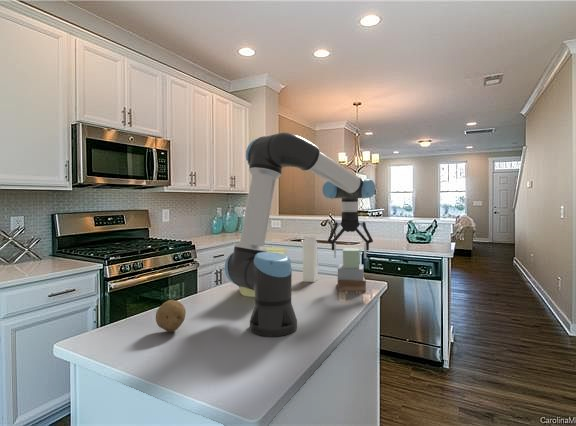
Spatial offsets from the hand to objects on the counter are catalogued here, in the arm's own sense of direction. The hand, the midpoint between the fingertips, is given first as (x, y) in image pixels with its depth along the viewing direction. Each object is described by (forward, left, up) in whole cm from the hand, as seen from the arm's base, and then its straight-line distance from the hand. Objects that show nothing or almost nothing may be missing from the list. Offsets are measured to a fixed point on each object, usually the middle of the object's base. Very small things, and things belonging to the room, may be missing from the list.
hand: (350, 257), depth 157 cm
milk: (+12, +19, -14) cm, 26 cm away
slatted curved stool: (-12, +40, -14) cm, 44 cm away
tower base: (0, 0, -14) cm, 14 cm away
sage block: (0, 0, -4) cm, 4 cm away
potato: (-59, +58, -14) cm, 84 cm away
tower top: (+1, 0, -9) cm, 9 cm away
